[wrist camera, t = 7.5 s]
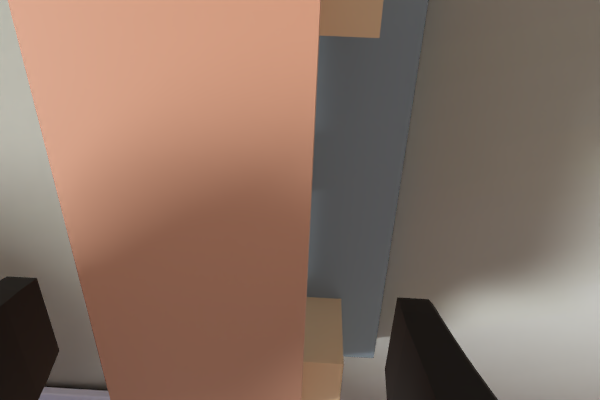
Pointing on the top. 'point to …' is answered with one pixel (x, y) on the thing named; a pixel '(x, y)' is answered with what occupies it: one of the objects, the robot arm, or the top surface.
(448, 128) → the top surface
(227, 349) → the terracotta bar
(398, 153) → the stand
